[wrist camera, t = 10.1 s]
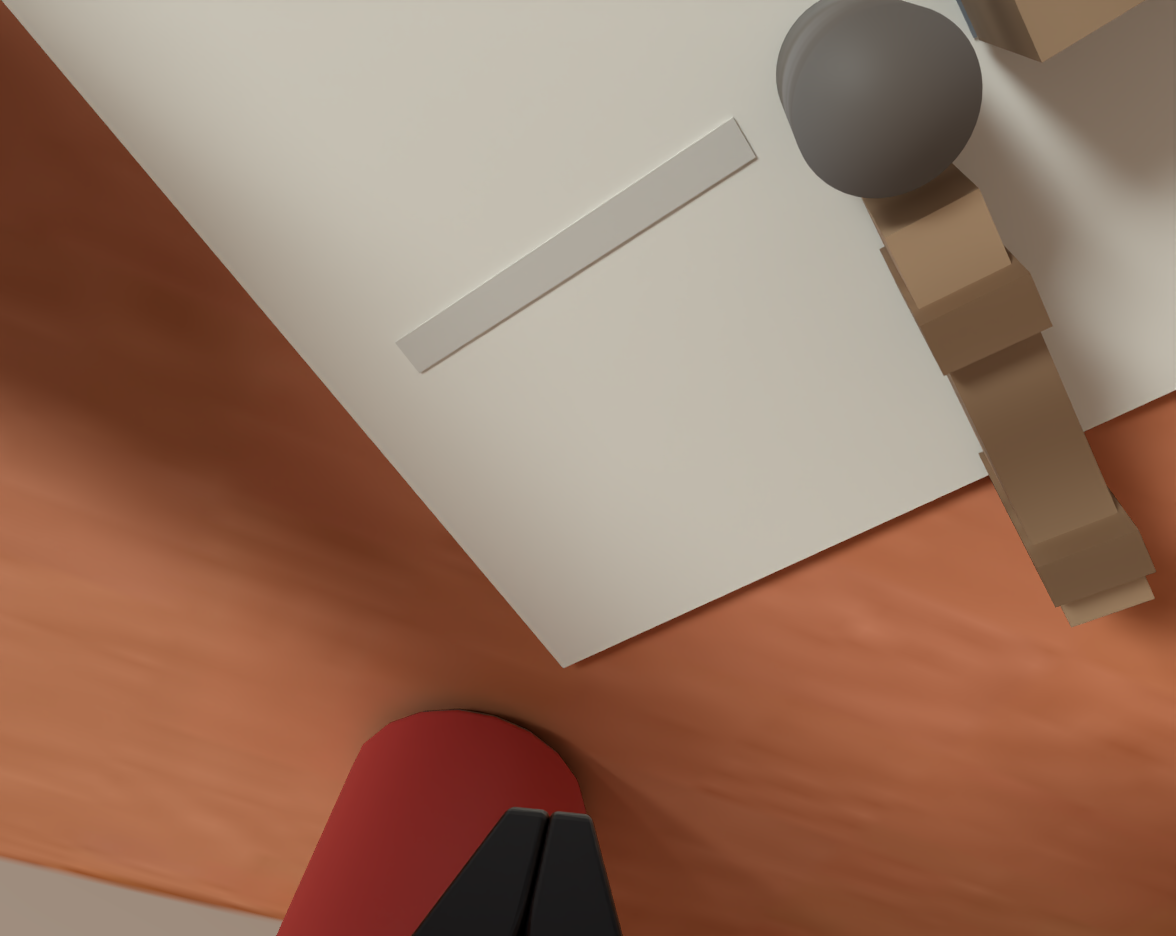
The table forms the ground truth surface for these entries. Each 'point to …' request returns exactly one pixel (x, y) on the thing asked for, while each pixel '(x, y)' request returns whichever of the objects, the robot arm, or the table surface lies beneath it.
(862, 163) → the fence section
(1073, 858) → the table surface
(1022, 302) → the fence hinged
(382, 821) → the beer can
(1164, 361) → the card
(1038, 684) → the table surface
